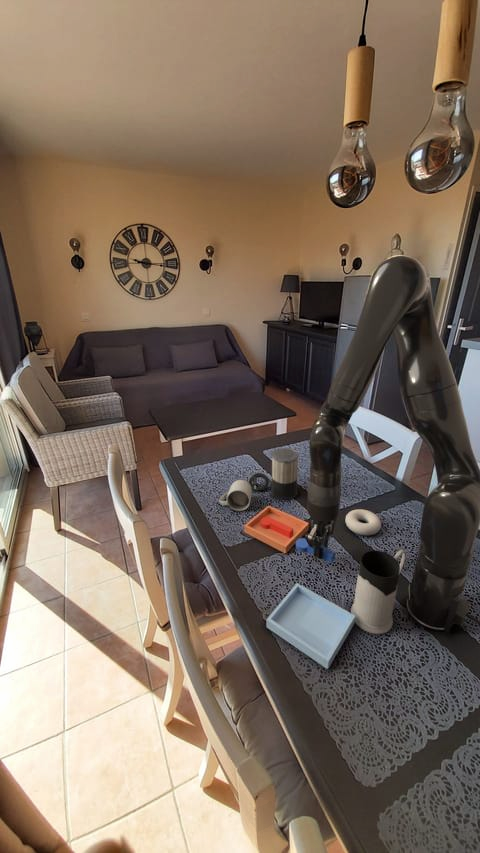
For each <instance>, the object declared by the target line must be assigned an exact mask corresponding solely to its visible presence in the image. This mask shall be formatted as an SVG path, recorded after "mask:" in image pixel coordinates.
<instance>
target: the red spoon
mask: <svg viewBox="0 0 480 853" xmlns="http://www.w3.org/2000/svg"><path fill="white" fill-rule="evenodd" d="M261 526H262V527H263V528H265V529H272V530H274V531H276V532H278V533H280V534H282V535H284V536H286V537H288V538H290V537H291V536H292V535H293V529H294V528H291V527H289V526H287V525H285V524H283V523H281V522H279V521H276V520H274V519H272V518H270V517H264V518H262V519H261Z"/></svg>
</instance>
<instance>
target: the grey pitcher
mask: <svg viewBox="0 0 480 853" xmlns="http://www.w3.org/2000/svg"><path fill="white" fill-rule="evenodd" d="M400 556H401V560H400V563H399V561H398V558H399V557H400ZM406 557H407V552H406V551H405V550H403V549H399V550H398V551H397V552H396V553H395V555H394V556H392V555H391V554H390V553H388V552H385V551H381V550H375V549H374V550H368V551H365V552H364V553H362V555H361V556H360V562H359V570H358V572H357V579H356V585H355V594H354V600H353V604H352V605H351V607H350V613H351V614H353V615H355V623H354V624H356V625H357V626H358V627H359V628H360V629H362V630H363V631H365V632H367V633H370V634H373V635H382V634H385V633H387V632H389V631H390V630H391V629H392V628H393V624H394V618H393V611H394V608H395V601H396V597H397V592H398V581H399V577H400V575H401V572H402V570H403V567H404V565H405V560H406Z"/></svg>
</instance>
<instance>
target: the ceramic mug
mask: <svg viewBox="0 0 480 853" xmlns="http://www.w3.org/2000/svg"><path fill="white" fill-rule="evenodd" d="M248 482H249V481H246V480H244V479H237V480H235V481H234V482H233V483H231V486H230V488H229V491H227V492H225V493H224V494H223V495H221V497H220V498H219V501H218V502H219V504H220V505H221V506H225V507H226V506H228V507H229V508H230V509H232V510H234V511H237V512H242V511H245V510H247V509H248V508H249V507H250V505H251V501H252V493H253V490H252V488H251V486H250V484H249V483H248ZM225 499H226V500H225Z"/></svg>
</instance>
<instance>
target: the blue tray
mask: <svg viewBox="0 0 480 853" xmlns="http://www.w3.org/2000/svg"><path fill="white" fill-rule="evenodd" d="M355 624H356V623H355V615H353V614H351V612H349V611H348V610H346V609H344V608H343V607H340V606H339V605H337V604H335V603H334V602H332V601H331V600H329V599H326V598H324V597H323V596H322V595H320V594H317V593H316V592H315V591H312V590H311V589H309V588H307V587H305V586H304V585H302V584H301V583H298V582H297V583H295V585H294V586H292V588H291V590H289V592H288V593H287V594H286V596H284V598H283V599H282V600H281V602H280V603H279V604H278V605H277V606H276V608H275V609H274V610H273V611H272V612H271V613H270V615H268V617H267V618H266V628H267V629H269V630H270V631H271V632H273V633H274V634H276V635H277V636H279V637H280V638H281V639H283V640H284V641H286V642H287V643H289V645H292V646H293V647H295V648H296V649H297V650H299V651H300V652H301V653H303V654H305V656H307V657H309V658H311V659H312V660H314V661H315V662H316V663H318V664H319V665H320V666H322V667H323V668H325V669H326V670H329V669H330V666H331V665H332V663H333V661H334V660H335V658H336V656H337V654H338V653H339V651H340V649H341V648H342V646H343V644H344V642H345V641H346V639H347V638H348V636H349V634H350V632H351V630H352V629H353V627H354V625H355Z"/></svg>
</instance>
